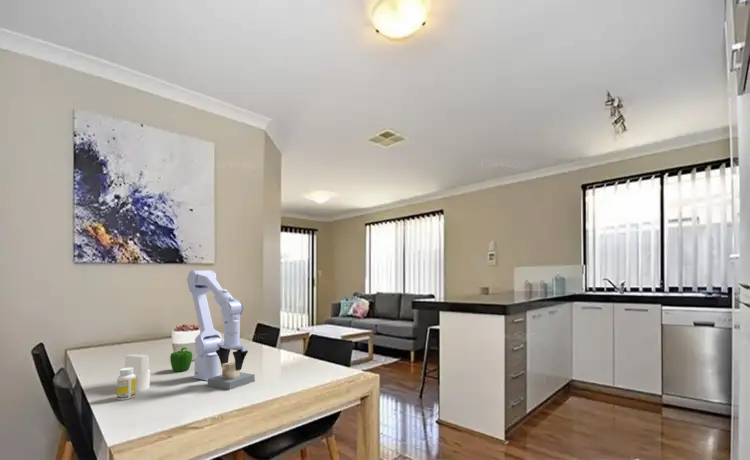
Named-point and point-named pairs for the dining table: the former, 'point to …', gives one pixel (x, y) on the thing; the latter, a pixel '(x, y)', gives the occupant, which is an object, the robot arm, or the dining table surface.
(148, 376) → the base with upright slab
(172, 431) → the dining table surface
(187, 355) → the bell pepper
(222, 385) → the slate plinth
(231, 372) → the ash block
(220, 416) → the dining table surface
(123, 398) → the supplement bottle
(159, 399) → the dining table surface
